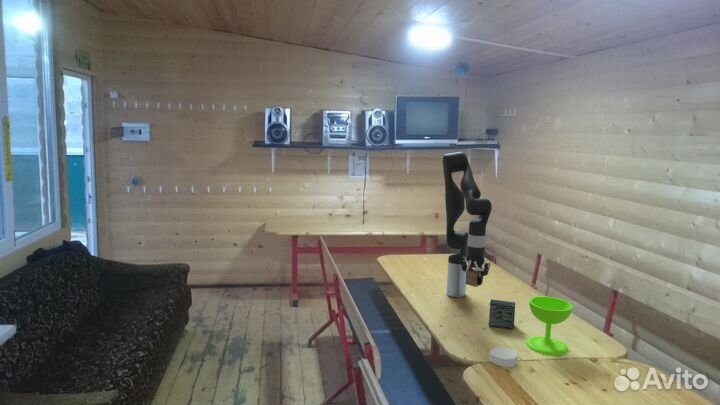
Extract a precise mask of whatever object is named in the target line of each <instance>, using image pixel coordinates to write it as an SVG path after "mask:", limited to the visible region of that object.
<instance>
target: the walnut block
mask: <svg viewBox="0 0 720 405" xmlns="http://www.w3.org/2000/svg"><path fill="white" fill-rule="evenodd" d="M482 285H483V283H482V284H481V285H478V272H477V271H476V268H472V269H470V270H467V271H466V286H471V287H474V288H476V287H479V286H482Z"/></svg>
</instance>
